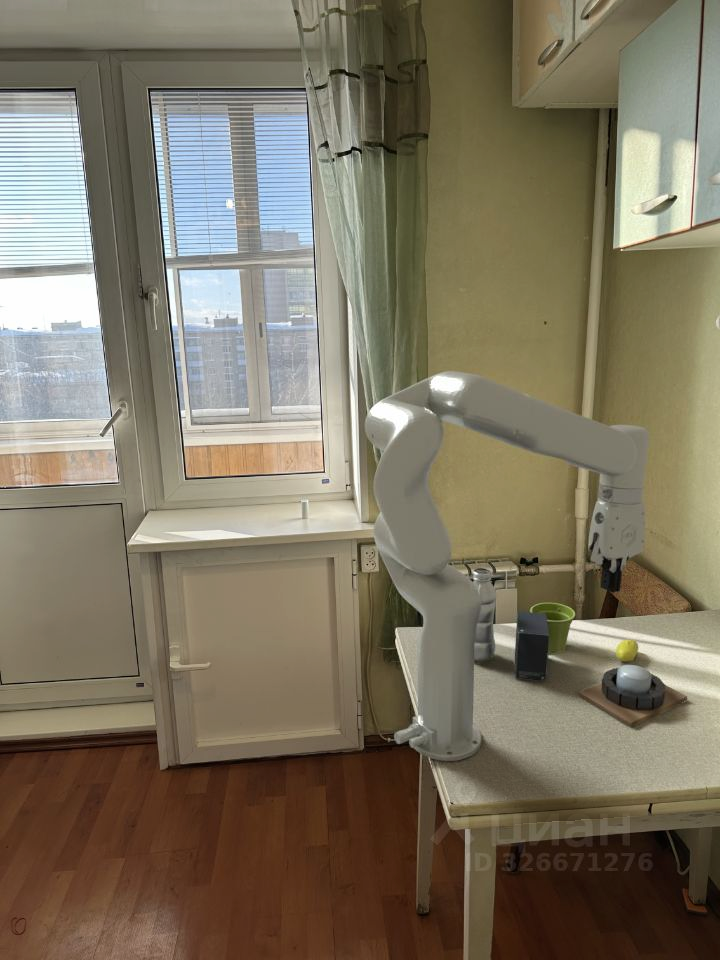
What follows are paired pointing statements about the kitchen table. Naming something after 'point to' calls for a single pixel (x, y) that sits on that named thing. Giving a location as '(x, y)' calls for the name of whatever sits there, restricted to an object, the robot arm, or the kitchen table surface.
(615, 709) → the board
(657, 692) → the segmented ring
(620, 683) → the cap
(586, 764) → the kitchen table surface
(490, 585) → the plastic bottle
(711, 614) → the kitchen table surface
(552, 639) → the plant pot
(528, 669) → the small box
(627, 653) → the lemon
